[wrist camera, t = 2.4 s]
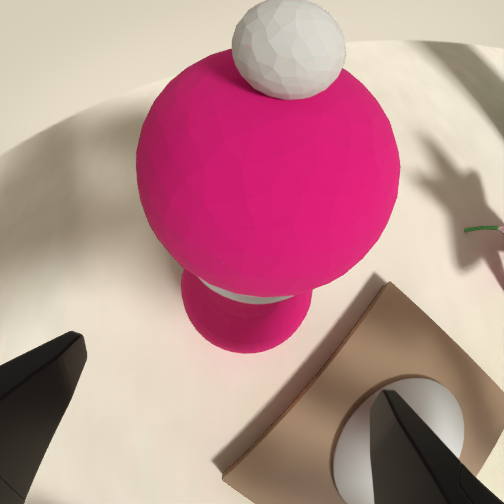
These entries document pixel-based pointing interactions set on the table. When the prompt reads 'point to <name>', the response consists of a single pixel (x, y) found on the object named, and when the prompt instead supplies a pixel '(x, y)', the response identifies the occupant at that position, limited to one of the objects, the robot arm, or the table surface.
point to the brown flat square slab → (358, 409)
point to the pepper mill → (266, 174)
